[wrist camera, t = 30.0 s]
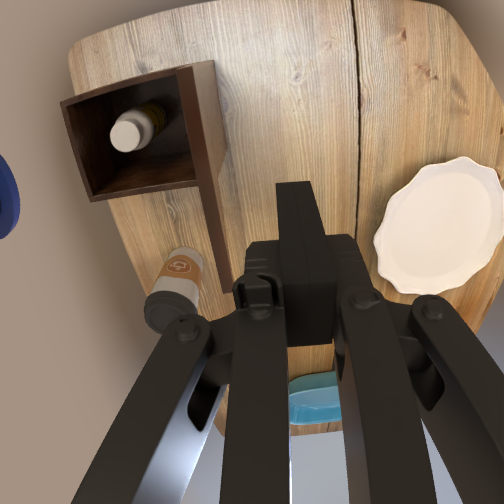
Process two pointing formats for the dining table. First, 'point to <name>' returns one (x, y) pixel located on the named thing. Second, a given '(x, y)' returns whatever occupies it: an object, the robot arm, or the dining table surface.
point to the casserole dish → (314, 399)
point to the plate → (440, 227)
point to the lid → (205, 168)
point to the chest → (152, 155)
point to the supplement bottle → (138, 127)
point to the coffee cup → (175, 289)
